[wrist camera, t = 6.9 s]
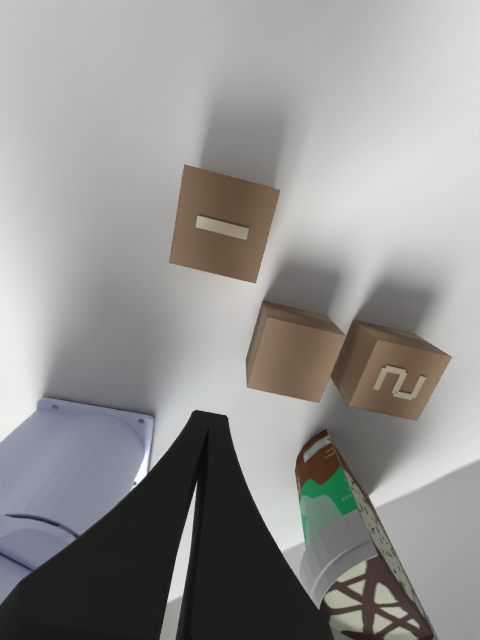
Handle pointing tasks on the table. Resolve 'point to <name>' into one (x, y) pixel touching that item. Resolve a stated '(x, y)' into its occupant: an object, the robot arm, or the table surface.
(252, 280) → the block one
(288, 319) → the plain block
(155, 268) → the table surface
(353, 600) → the food container
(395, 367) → the block two
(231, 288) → the table surface
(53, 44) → the table surface
